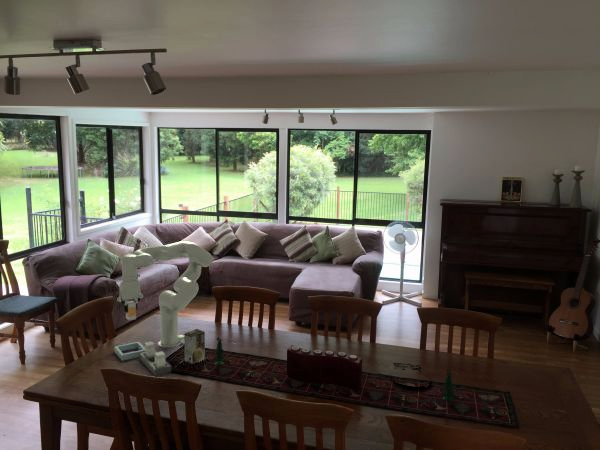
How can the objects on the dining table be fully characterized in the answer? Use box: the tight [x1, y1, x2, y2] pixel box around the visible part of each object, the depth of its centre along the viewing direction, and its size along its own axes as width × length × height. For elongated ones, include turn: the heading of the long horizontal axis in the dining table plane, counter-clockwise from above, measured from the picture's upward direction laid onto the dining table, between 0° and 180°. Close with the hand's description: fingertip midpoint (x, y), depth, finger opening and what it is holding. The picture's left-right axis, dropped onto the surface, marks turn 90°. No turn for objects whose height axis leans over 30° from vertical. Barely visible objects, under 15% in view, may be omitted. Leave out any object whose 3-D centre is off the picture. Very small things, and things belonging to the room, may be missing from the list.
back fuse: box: [144, 341, 156, 357], centre depth 264 cm, size 4×4×9 cm
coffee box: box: [183, 328, 206, 365], centre depth 266 cm, size 9×6×16 cm
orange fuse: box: [125, 300, 137, 321], centre depth 267 cm, size 4×4×9 cm
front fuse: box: [155, 350, 166, 368], centre depth 252 cm, size 4×4×9 cm
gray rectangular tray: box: [138, 350, 172, 377], centre depth 259 cm, size 8×23×4 cm, turn 36°
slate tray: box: [114, 341, 145, 361], centre depth 272 cm, size 13×13×4 cm
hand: (130, 310), depth 267 cm, fingers closed on orange fuse, 4 cm apart
